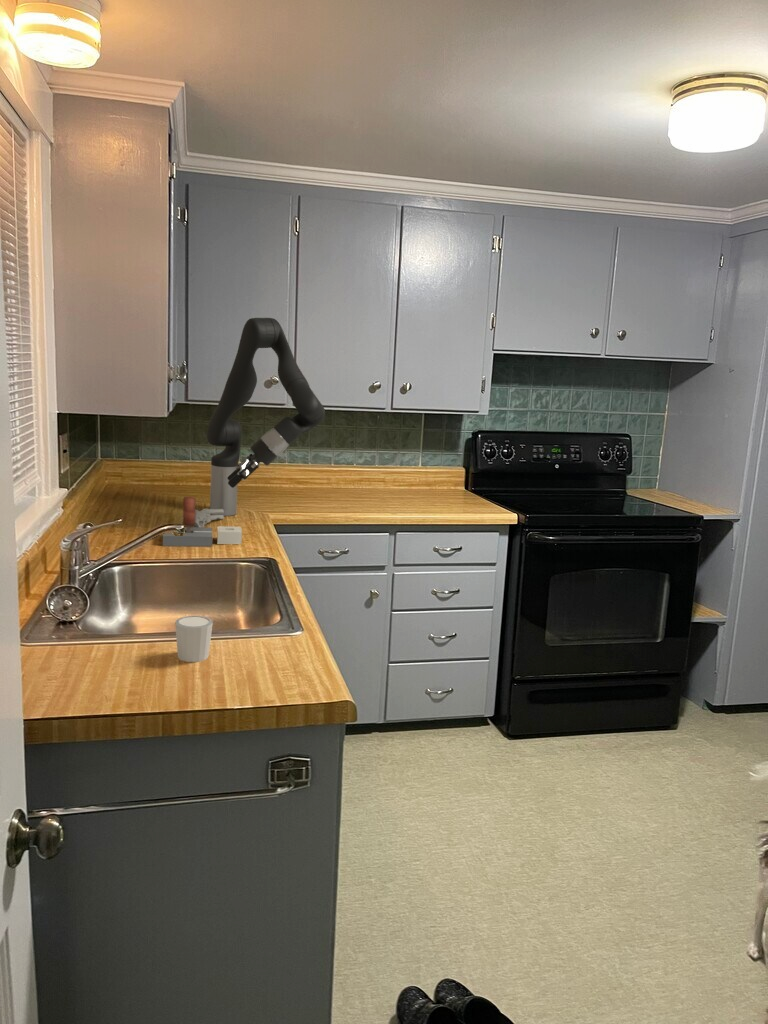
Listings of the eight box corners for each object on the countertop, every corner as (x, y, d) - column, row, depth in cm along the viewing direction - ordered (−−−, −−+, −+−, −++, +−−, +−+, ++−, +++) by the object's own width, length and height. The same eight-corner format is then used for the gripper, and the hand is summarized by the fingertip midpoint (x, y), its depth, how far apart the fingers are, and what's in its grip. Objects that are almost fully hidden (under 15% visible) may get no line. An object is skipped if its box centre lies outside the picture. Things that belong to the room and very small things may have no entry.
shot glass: (182, 666, 141) (183, 629, 140) (168, 653, 146) (169, 618, 145) (217, 659, 145) (218, 624, 144) (203, 647, 150) (203, 613, 149)
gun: (189, 533, 234) (191, 508, 234) (218, 530, 264) (219, 507, 264) (195, 534, 234) (197, 509, 234) (223, 530, 264) (225, 508, 264)
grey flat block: (164, 536, 234) (165, 526, 233) (212, 537, 237) (212, 527, 237) (162, 546, 223) (162, 535, 222) (212, 546, 226) (212, 536, 225)
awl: (182, 539, 231) (183, 496, 229) (194, 540, 232) (195, 497, 229) (182, 542, 228) (183, 498, 225) (194, 542, 229) (195, 499, 226)
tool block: (217, 539, 235) (217, 526, 234) (240, 539, 237) (240, 526, 236) (217, 544, 228) (217, 531, 228) (241, 545, 230) (241, 532, 229)
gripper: (259, 434, 235) (220, 470, 235) (262, 439, 221) (221, 477, 221) (276, 452, 237) (237, 487, 237) (280, 459, 224) (239, 496, 223)
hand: (229, 483), depth 229 cm, fingers open, 8 cm apart
